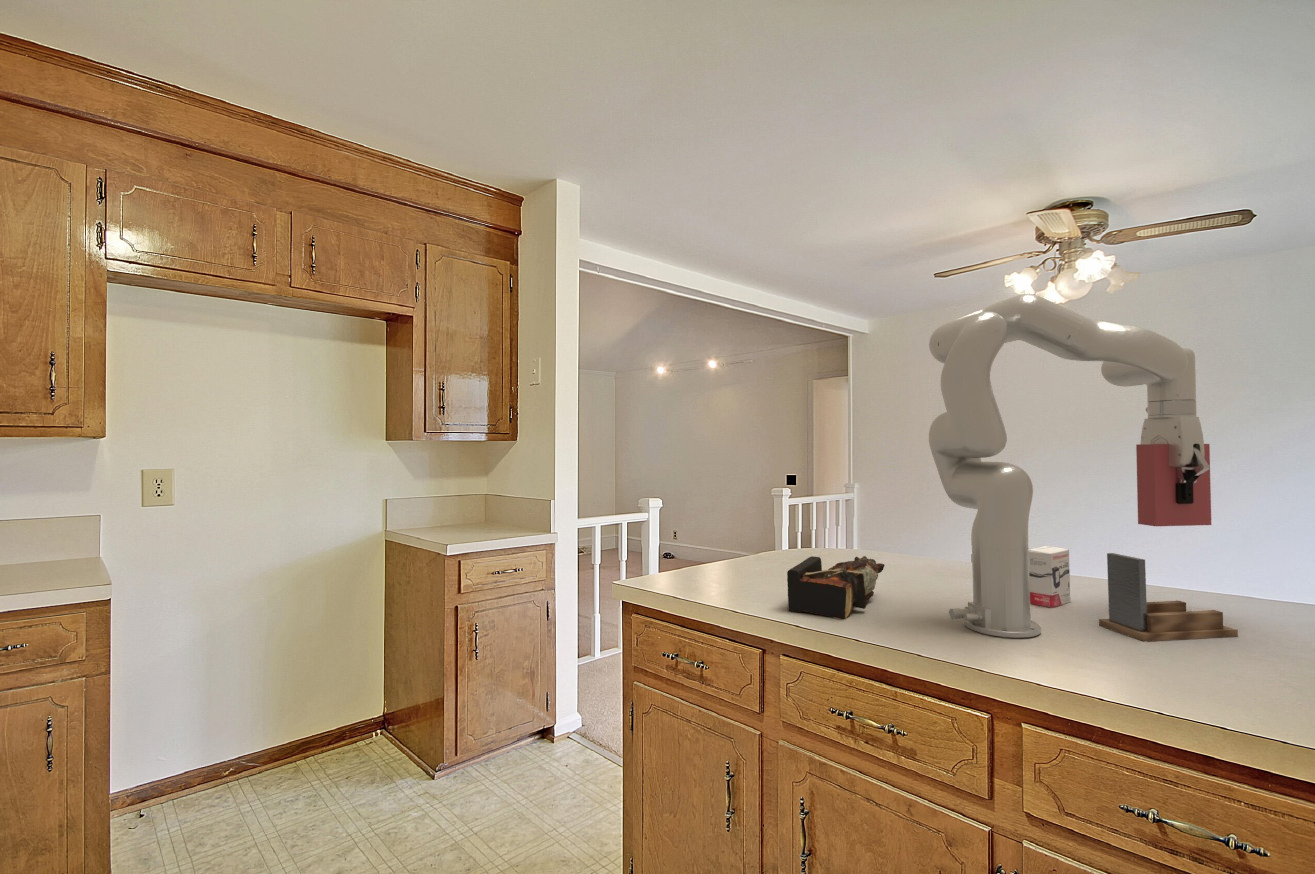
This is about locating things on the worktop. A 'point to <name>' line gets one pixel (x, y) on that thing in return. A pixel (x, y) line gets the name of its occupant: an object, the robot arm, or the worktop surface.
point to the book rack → (1176, 623)
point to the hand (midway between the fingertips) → (1173, 501)
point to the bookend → (832, 586)
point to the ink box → (1049, 576)
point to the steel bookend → (1127, 591)
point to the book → (1169, 490)
